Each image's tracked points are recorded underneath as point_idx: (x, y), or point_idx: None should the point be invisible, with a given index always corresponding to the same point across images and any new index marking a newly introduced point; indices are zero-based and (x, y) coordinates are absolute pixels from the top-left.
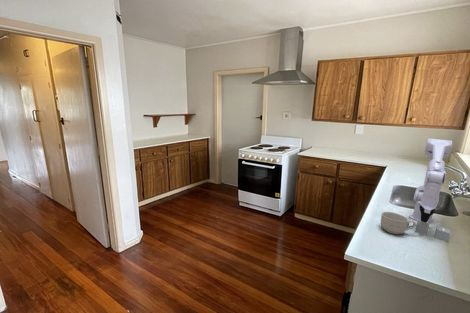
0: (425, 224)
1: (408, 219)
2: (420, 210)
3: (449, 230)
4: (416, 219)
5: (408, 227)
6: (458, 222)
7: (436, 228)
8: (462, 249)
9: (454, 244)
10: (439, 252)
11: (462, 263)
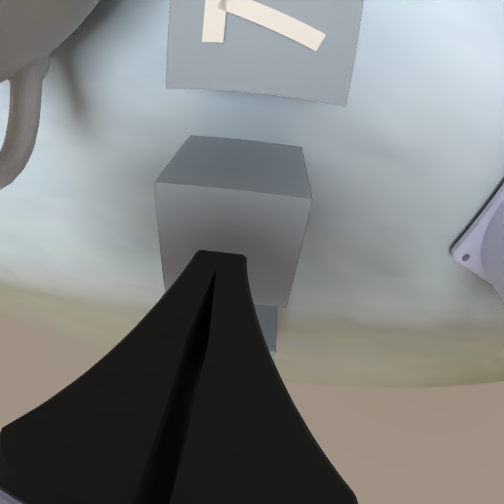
0: None
1: (245, 63)
2: (23, 420)
3: None
4: (502, 194)
5: (14, 98)
6: (495, 369)
7: (263, 330)
8: None
9: None
10: (22, 263)
11: (30, 319)
